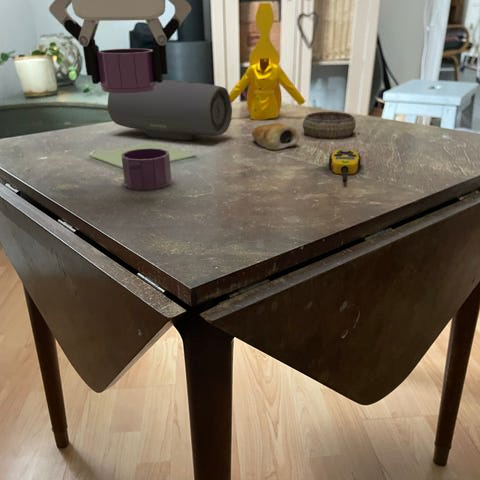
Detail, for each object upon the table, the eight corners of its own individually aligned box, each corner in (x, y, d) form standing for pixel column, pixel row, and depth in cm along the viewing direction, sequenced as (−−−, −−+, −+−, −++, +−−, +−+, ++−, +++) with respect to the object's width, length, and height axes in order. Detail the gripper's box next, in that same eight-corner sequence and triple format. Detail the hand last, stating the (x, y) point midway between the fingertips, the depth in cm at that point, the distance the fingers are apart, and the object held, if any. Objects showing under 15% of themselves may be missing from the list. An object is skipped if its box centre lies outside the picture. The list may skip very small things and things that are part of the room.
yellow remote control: (360, 147, 87) (363, 173, 74) (359, 159, 88) (361, 187, 75) (330, 147, 87) (327, 172, 75) (329, 159, 88) (326, 186, 76)
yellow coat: (223, 121, 117) (219, 3, 105) (225, 114, 123) (221, 3, 112) (305, 120, 116) (310, 1, 105) (302, 113, 123) (307, 1, 112)
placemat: (130, 171, 84) (129, 169, 83) (89, 156, 92) (88, 154, 92) (196, 156, 91) (196, 154, 91) (152, 143, 99) (152, 142, 99)
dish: (119, 95, 62) (115, 54, 60) (92, 89, 66) (86, 51, 64) (167, 89, 66) (164, 50, 64) (138, 83, 70) (134, 47, 68)
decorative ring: (335, 141, 98) (365, 132, 105) (336, 123, 97) (366, 115, 103) (291, 134, 105) (322, 126, 111) (292, 116, 103) (323, 109, 109)
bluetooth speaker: (234, 136, 103) (233, 80, 98) (209, 147, 96) (207, 86, 91) (138, 127, 113) (132, 74, 107) (109, 136, 105) (102, 80, 100)
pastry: (242, 141, 100) (242, 119, 98) (272, 137, 103) (272, 116, 101) (272, 151, 93) (273, 128, 91) (303, 146, 96) (304, 124, 94)
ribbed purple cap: (141, 193, 74) (138, 162, 72) (116, 183, 78) (112, 153, 76) (180, 183, 78) (178, 153, 76) (154, 174, 82) (151, 146, 80)
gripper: (14, -109, 53) (48, 87, 62) (191, -109, 54) (199, 85, 63) (34, -98, 59) (63, 79, 68) (193, -98, 60) (200, 76, 69)
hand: (128, 80), depth 66 cm, fingers closed on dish, 6 cm apart
